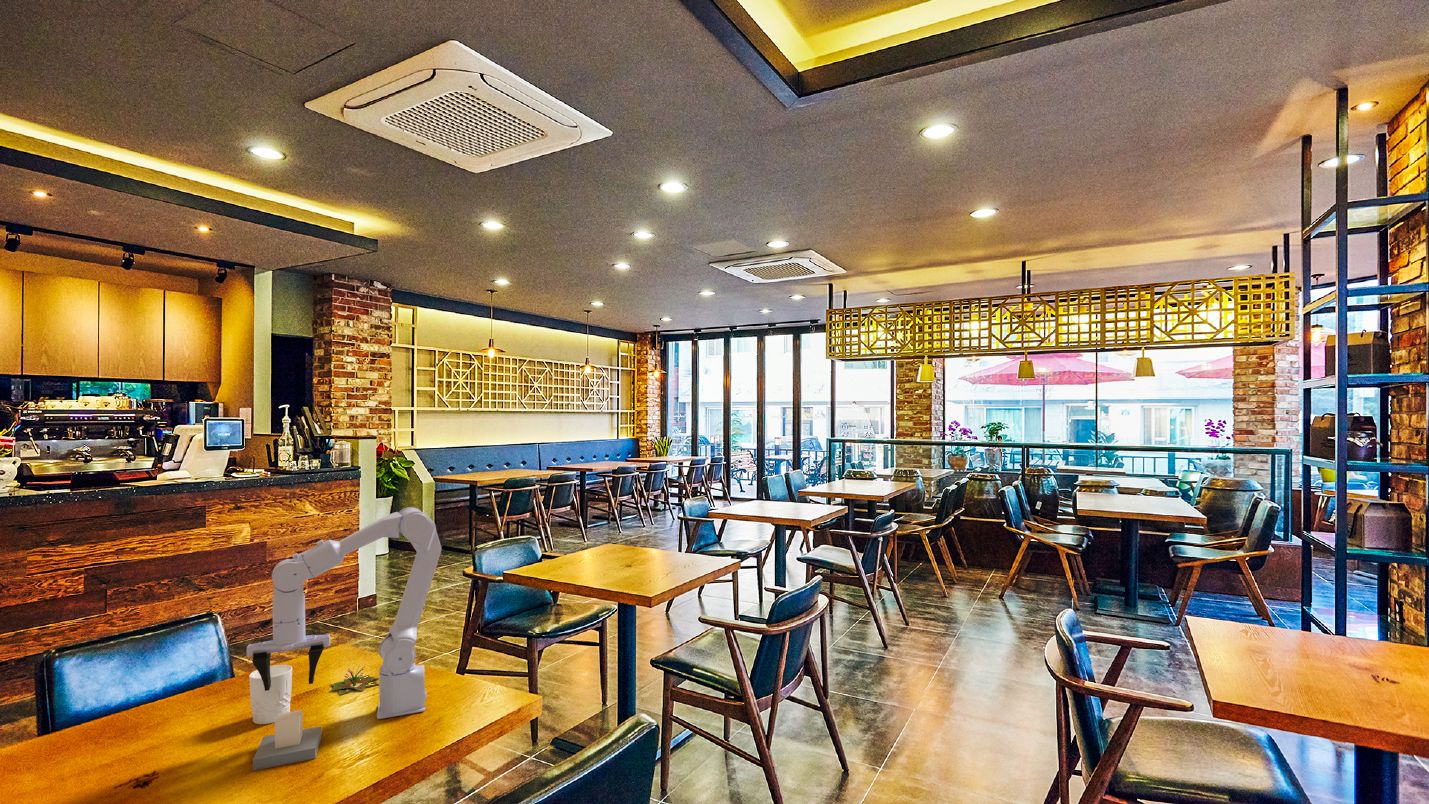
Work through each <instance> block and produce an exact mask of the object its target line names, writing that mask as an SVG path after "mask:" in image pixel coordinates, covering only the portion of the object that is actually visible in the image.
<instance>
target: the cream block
mask: <svg viewBox="0 0 1429 804" xmlns="http://www.w3.org/2000/svg"><path fill="white" fill-rule="evenodd" d="M302 730H303V710H302V709H299V710H293V711H290V712H287V713H281V714H278V716H277V718H276V721H275V722H274V735H275V748H281V747H286V746H292V745H297V744H300V741H301V738H302Z"/></svg>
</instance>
